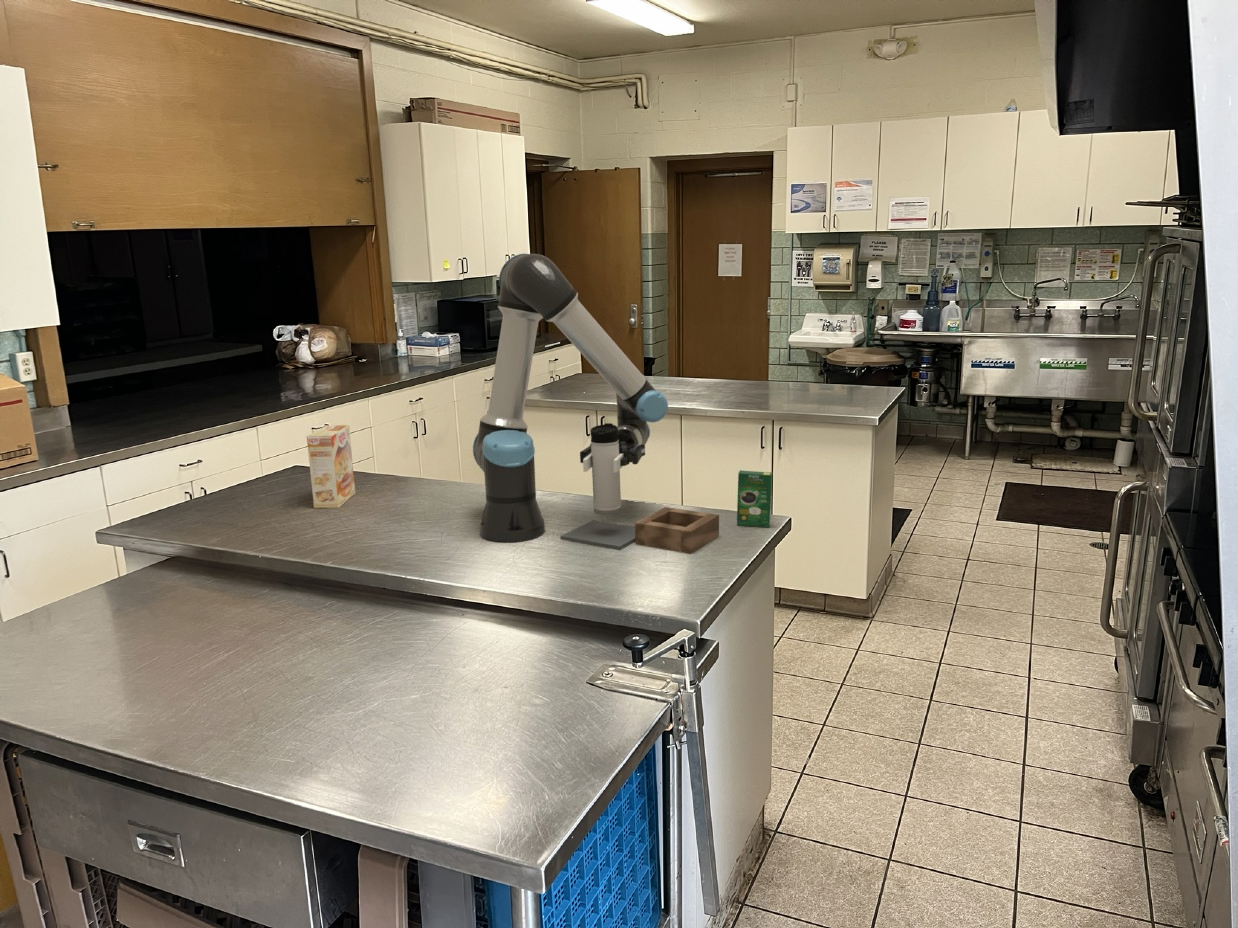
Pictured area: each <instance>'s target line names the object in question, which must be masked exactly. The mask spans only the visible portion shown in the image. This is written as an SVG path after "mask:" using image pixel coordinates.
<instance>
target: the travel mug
mask: <svg viewBox="0 0 1238 928" xmlns="http://www.w3.org/2000/svg"><path fill="white" fill-rule="evenodd" d="M618 442H619V440H618V425H615V424H613V423H612V422H611V423H608V422H606V423H605V422H604V424H600V425H599V424H598V425H596V426H593V427H591V428H590V444H591V455H592V467H591V470H592V471H591V473H592V474H591V475H592V476H591V477H592V494H593V495H592V497H593V499H592V500H593V501H592V502H593V511H594V513H595V514H596V515H598V516H599V515H600V516H614V515H617V514H619V513H621V511H622V504H621V503H622V497H621V496H622V495H621V474H620V473H621V471H620V470H621V469H620V470H619V471H618V472H614V466H613V460H614V459H615V458H616V457H617V456H618V455H619V443H618Z"/></svg>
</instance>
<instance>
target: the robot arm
mask: <svg viewBox="0 0 1238 928" xmlns="http://www.w3.org/2000/svg"><path fill="white" fill-rule="evenodd" d="M498 281H499V282H498V284H499V287H500V292H499V298H498V305H497V308H498V309H499V310H500V312H501V314H502V320H501V327H500V332H499V333H500V334H499V340H498V347H497V352H496V359H495V364H494V371H493V377H492V384H491V391H490V397H489V403H488V409H487V413H485V414H484V415H483V416H482V417H481V418H480V421H479V426H478V433H477V434H476V436H475V438H474V440H473V445H472V454H473V459H474V461H475V462H476V464H477V465H478V467H479V468H480V469H481V471H482V472H483V474H484V484H485V485H484V487H485V505H484V510H483V513H482V516H481V521H480V525H479V527H480V528H479V529H480V537H482V538H483V539H485V540H489V541H491V542H492V541H493V542H500V543H501V542H503V543H512V542H523V541H528V540H532V539H535V538H536V539H537V537H540V536H542V535H543V534H544V533H545V531H546V524H545V523H546V522H545V519H544V517H543V515H542V512H541V509H540V506H539V504H538V501H537V491H536V469H535V453H536V450H535V446H534V441H533V438H532V436H531V435H530V434H528V424H527V423H526V422H525V420H524V411H525V406H526V399H527V393H528V387H529V382H530V375H531V370H532V364H533V363H532V362H533V357H534V352H535V351H534V350H535V344H536V338H537V332H538V328H539V322H541V320H543V319H544V320H545V322H551V323H553V324H554V325H555V326H556V328H558V329H559V331H561V332H562V334H564V336H565V337H566V338H567V339H568V341H570V343H571V344H572V345H573V346H574V347H575V348H576V350H578V352H579V353H580V354H581V355H582V356H583V358H585V360H586V361H587V362H588V363H589V364H590V365H591V367H593V368H594V370H596V372H597V373H598V375H600V376H601V377H602V378H603V380H605V382H606V383H607V384H608V385H609V386H610V388H612V390H614V392H615V395H616V417H617V419H616V420H617V427H618V440H619V442H618V443H619V455H618V456H617V457H616V458H615V459H614V460H613V466H614V472H618V471H619V470H621V469H622V468H623V467H626V466H628V465H630V463H632V465H638V464H639V462H640V460H641V458H643V457H644V456H646V443H647V442H648V440H649V438H650V436H651V428H650V425H649V423H656V422H659V421H661V420H663V418H665V416H666V415H667V413H668V408H669V402H668V400H667V398H666V396H665V395H664V394H663V393H661V392H660V391H658V390H656V389H655V388H654V387H653V385H652V384H651V383H650V382H649V381H648V379H646V376H645V374H642V373H641V371H640V370H639V369H638V368H637V367H636V366H635V364H634V363H633V362H632V361H631V360H630V358H629V357H628V356H627V355H626V354H625V353H624V352H623V350H622V349H621V348H620V347H619V346H618V344H617V343H616V342H615V341H614V340H613V339H612V338H611V336H609V334H608V333H607V332H606V331H605V329H604V328H603V327H602V326H601V325H600V324H599V322H597V320H596V319H595V318H594V317H593V315H592V314H591V313H590V312H589V311H588V310H587V308H585V306H584V305H583V304H582V303H581V302H580V300H579V299H578V297H579V293H578V292H577V290H576V289H575V288H574V287H573V285H572V284H571V282H569V280H568V278H566V277H565V275H564V274H563V273H562V271H561V270H560V269H559V267H558V266H557V265H556V264H555V263H554V261H552V260H551V259H550V258H549V257H547V256H545V255H542V254H541V253H540V254H538V253H519V254H516V255H514V256H512V257H510V258H509V259H508V260H507V261H505V263H504V265H502V267H501V269H500V273H499V277H498ZM579 459H580V460H579V461H580V464H582V466H583V469H582V470H583V472H588V471H590V469H592V455H591V443H589V446H587V447H586V448H584V449H582V450H581V451H580V452H579Z"/></svg>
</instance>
